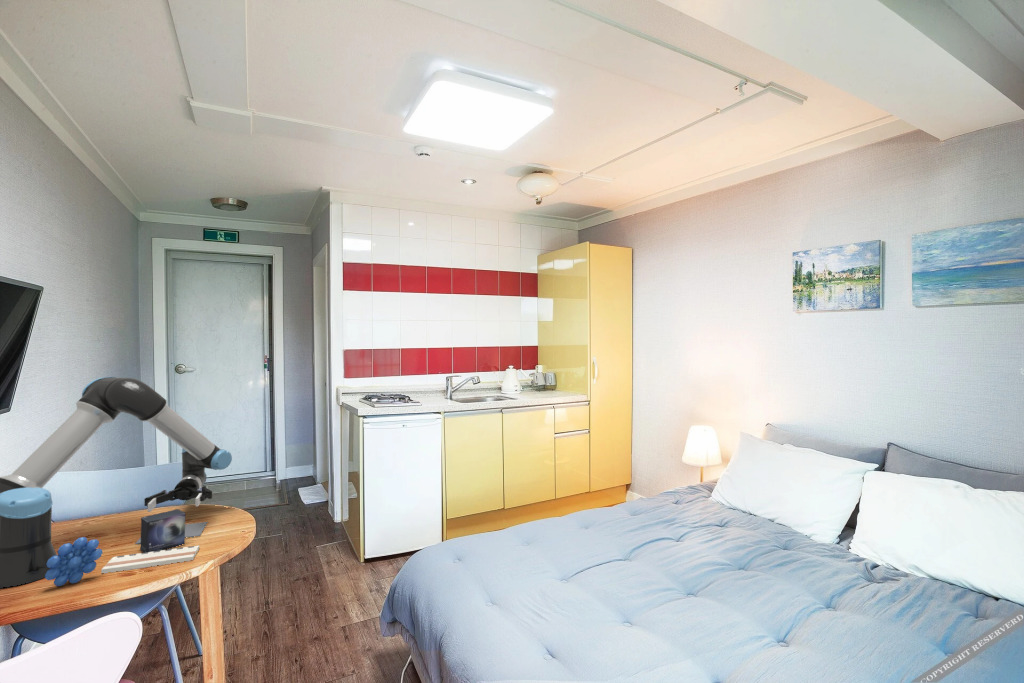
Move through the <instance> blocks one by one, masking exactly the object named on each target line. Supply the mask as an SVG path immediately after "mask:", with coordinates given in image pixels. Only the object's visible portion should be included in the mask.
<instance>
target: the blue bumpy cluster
mask: <svg viewBox="0 0 1024 683" xmlns="http://www.w3.org/2000/svg"><path fill="white" fill-rule="evenodd" d="M99 545H100V540H98V539H96V538H95V539H90V540H89V541H88V538H87V537H86V536H82V537H78V538H77V539H75V540H74V541H73V543H71V542H68V543H63V544H62V545H61V546H60V547H58V550H57V555H55V556H53V557H51V558H50V559H49V560H48V561H47V563H46V565H47V567H48V568H51V569H50V570H48V571H47V573H46V574H45V577H44V579H45V580H47V581H52V580H54V581H53V585H54V586H56V587H60V586H64V585H65V584H66V583H67V582H69V583H70V584H76V583H79V582H80V581H81V580H82V578H83V577H84V574H89V573H92V572H93V571H94V570H95V569H96V567H97V562H96V561H97V560H99V559H100V558H101V557H102V555H103V553H104V552H103V549H101V548H98V546H99Z"/></svg>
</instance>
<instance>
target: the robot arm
mask: <svg viewBox="0 0 1024 683" xmlns="http://www.w3.org/2000/svg"><path fill="white" fill-rule="evenodd" d="M75 405H76V410H75V411H74V412H73V413H71V415H70V416H68V418H66V420H65V421H64V422H63V423H62V424H61V425H59V426H58V427H57V429H55V431H54V432H52V434H50V436H48V437H47V438H46V439H45V440H44V441H43V442H42V443H41V444H40V445H39V446H38V447H37V448H36V449H35V450H34V451H33V452H32V453H30V455H29V456H28V457H27V458H26V459H25V460H24V461H23V462H22V463H21V464H20V465H19V466H18V467H17V469H15V470H14V471H13V472H12V473H11V474H8V475H4V476H3V475H2V476H0V589H4V588H3V587H7V588H11V587H10V586H13V587H17V585H18V586H21V584H22V585H25V583H26V584H29V583H32V582H35V581H39V580H41V579H45V574H46V573H47V571H48V570H50V569H51V568H48V567H47V565H46V563H47V561H48V560H49V559H50V558H51V557H53V556H55V555H58V553H57V552H56V550H55V547H54V546H53V543H52V514H53V513H52V511H53V510H52V509H53V499H52V493H51V492H50V490H49V489H46V488H44V486H46V484H48V482H49V481H50V480H51V479H52V478H53V477H54V476H56V474H57V473H58V472H60V470H61V469H62V468H63V467H64V466H65V464H66V463H67V462H68V461H69V460H70V459H71V458H72V457H74V455H75V454H76V453H77V452H78V451H79V450H80V449H81V448H82V447H83V446H84V444H85V443H86V442H87V441H88V440H89V439H90V438H91V437H92V436H93V435H94V434H95V433H97V431H98V430H99V428H100V427H102V426H103V425H105V424H108V423H109V424H110V423H112V422H113V421H114V420H116V418H117V417H118V415H120V414H121V413H125V414H128V415H131V416H134V417H135V418H137V420H139V421H140V422H147V423H149V424H150V425H152V427H154V428H156V430H158V431H159V432H161V433H162V434H163V435H165V436H166V437H167V438H169V439H170V440H171V441H173V442H174V443H175V444H177V445H178V446H179V447H180V448H182V449H181V463H182V464H181V467H182V470H181V475H182V476H181V480H180V481H179V482H178V483H177V484H176V485H175V487H174V488H173V489H171V490H169V491H167V490H166V489H164V490H162V491H160V492H158V493H155V494H153V495H151V496H148V497H147V496H146V497H145V498H144V501H143V502H144V506H143V507H147V513H151V512H152V511H153V510H154V509H155V508H156V506H157V505H159V504H162V503H166V502H168V501H169V502H170V501H172V502H173V501H175V500H179V501H189V500H191V499H195V507H199V505H200V504H201V503H202V502H204V501H205V500H207V499H209V500H211V499H213V490H211V489H209V488H208V487H207V486H206V485H205V484H206V482H207V476H208V475H207V474H206V469H211V470H213V471H214V470H215V471H217V470H219V471H221V470H225V469H227V468H228V467H229V466H230V465H231V463H232V461H233V455H232V453H231V452H230V450H229V451H228V450H226V449H221V448H219V447H218V446H217V445H216V444H215V443H213V442H212V441H211V440H209V439H208V438H207V437H205V435H204V434H202V433H201V432H200V431H199V430H197V429H196V428H195V427H194V426H193V425H192V424H190V423H189V421H187V420H185V419H184V418H183V417H182V416H181V415H180V414H178V413H177V412H176V410H175V411H174V409H172V408H171V407H170V406H169V405H168V402H167V400H166V399H165V398H164V396H162V395H161V394H160V393H159V392H158V391H156V390H155V389H153V388H152V387H150V385H148V384H146V383H145V382H144V381H142V380H139V379H137V378H134V377H133V378H132V377H115V376H105V377H99V378H96V379H93V380H92V381H90V382H88V383H87V384H86V385H85V387H84V388H83V389H82V391H81V398H80V399H78V400H77V401H76V402H75Z"/></svg>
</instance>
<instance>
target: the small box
mask: <svg viewBox="0 0 1024 683" xmlns="http://www.w3.org/2000/svg"><path fill="white" fill-rule="evenodd" d="M185 524H186V512H184V511H182V510H181V509H178V508H176V509H173V510H168V511H164V512H160V513H154V514H150V515H146V516H142V517H140V537H141V544H140V547H139V550H140V551H141V552H142V553H146V552H153V551H161V550H165V549H167V550H168V549H169V548H170V549H173V548H172V547H174V548H177V547H176V546H178V547H180V546H179V545H181V546H183V545H182V544H185V542H186V541H185V539H186V538H185Z"/></svg>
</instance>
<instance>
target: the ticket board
mask: <svg viewBox="0 0 1024 683" xmlns="http://www.w3.org/2000/svg"><path fill="white" fill-rule="evenodd" d="M197 551H198V552H199V551H200V545H192V546H185V547H184V546H183V547H175V548H170V549H167V550H161V551H153V552H146V553H143V552H142V553H141V552H140V553H139V552H138V553H132V554H125V555H117V556H113V557H112V558H111V559H110V560H109V561H108V562H107V563H106V564H105V565H103V567H102V568H101V570H100V572H101V573H104V574H109V573H108V572H111V573H115V572H116V571H118V572H123V570H124V571H131V570H138V569H144V568H151V566H152V567H158V566H157V565H159V566H164V565H165V564H166V565H172V564H171V563H173V564H178V563H177V562H180V563H185V562H184V561H187V562H191V561H190V560H193V561H194V560H195V558H194V557H196V556H197V554H198V552H197ZM196 553H197V554H196ZM195 555H196V556H195ZM116 573H117V572H116Z"/></svg>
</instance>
